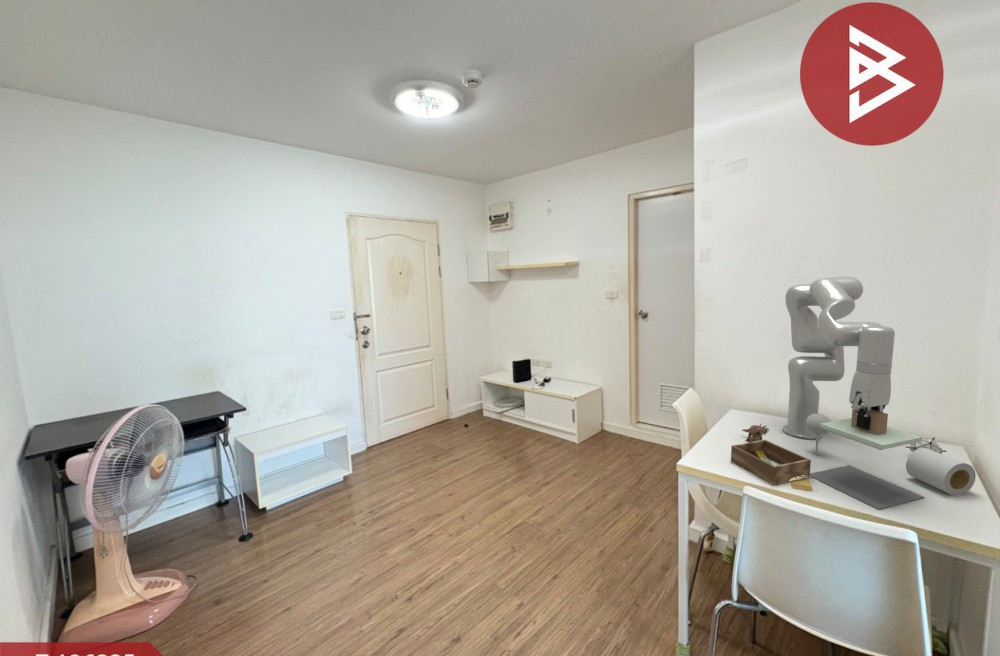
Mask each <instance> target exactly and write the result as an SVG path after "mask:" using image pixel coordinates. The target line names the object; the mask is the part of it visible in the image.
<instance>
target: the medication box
mask: <svg viewBox="0 0 1000 656" xmlns="http://www.w3.org/2000/svg"><path fill="white" fill-rule="evenodd" d="M755 457H757V458H759V459H761V460H763V461H765V462H767V463H769V464H771V465H773V463H772V462H771V460H770V459H768V458H767V456H766V455H765V454H764V452H760V451H755Z"/></svg>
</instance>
